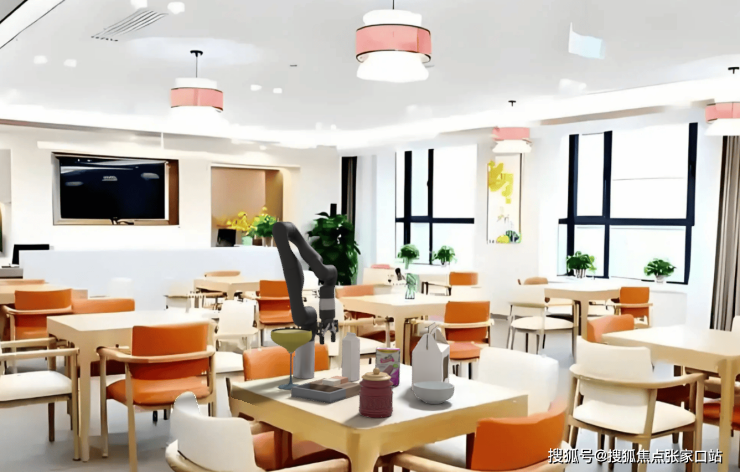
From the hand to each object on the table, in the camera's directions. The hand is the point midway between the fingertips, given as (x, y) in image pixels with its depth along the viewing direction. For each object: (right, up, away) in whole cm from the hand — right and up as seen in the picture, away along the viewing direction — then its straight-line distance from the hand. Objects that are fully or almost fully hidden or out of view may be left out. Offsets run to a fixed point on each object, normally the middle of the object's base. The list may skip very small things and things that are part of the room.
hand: (327, 343), depth 339 cm
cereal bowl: (+46, -19, -39) cm, 63 cm away
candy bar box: (+27, -18, -6) cm, 33 cm away
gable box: (+47, -18, -10) cm, 51 cm away
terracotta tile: (+6, -14, -22) cm, 27 cm away
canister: (+22, -18, -60) cm, 67 cm away
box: (-2, -18, -34) cm, 39 cm away
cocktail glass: (-15, -17, -15) cm, 28 cm away
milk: (+11, -18, +2) cm, 21 cm away
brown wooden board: (+4, -18, -25) cm, 31 cm away
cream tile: (+3, -14, -27) cm, 30 cm away
